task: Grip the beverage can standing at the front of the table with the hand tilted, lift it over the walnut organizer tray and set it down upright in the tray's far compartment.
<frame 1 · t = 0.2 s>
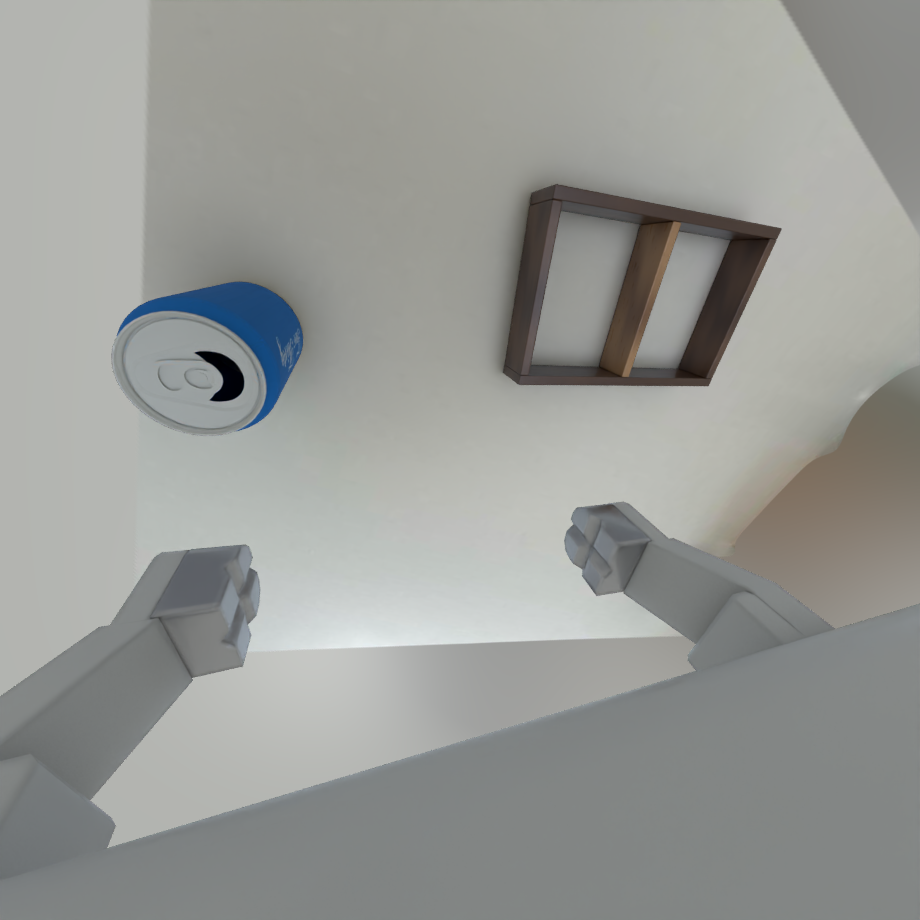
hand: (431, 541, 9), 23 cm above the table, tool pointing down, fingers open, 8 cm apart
beverage can: (256, 330, 25), on the table
tray: (620, 302, 32), on the table
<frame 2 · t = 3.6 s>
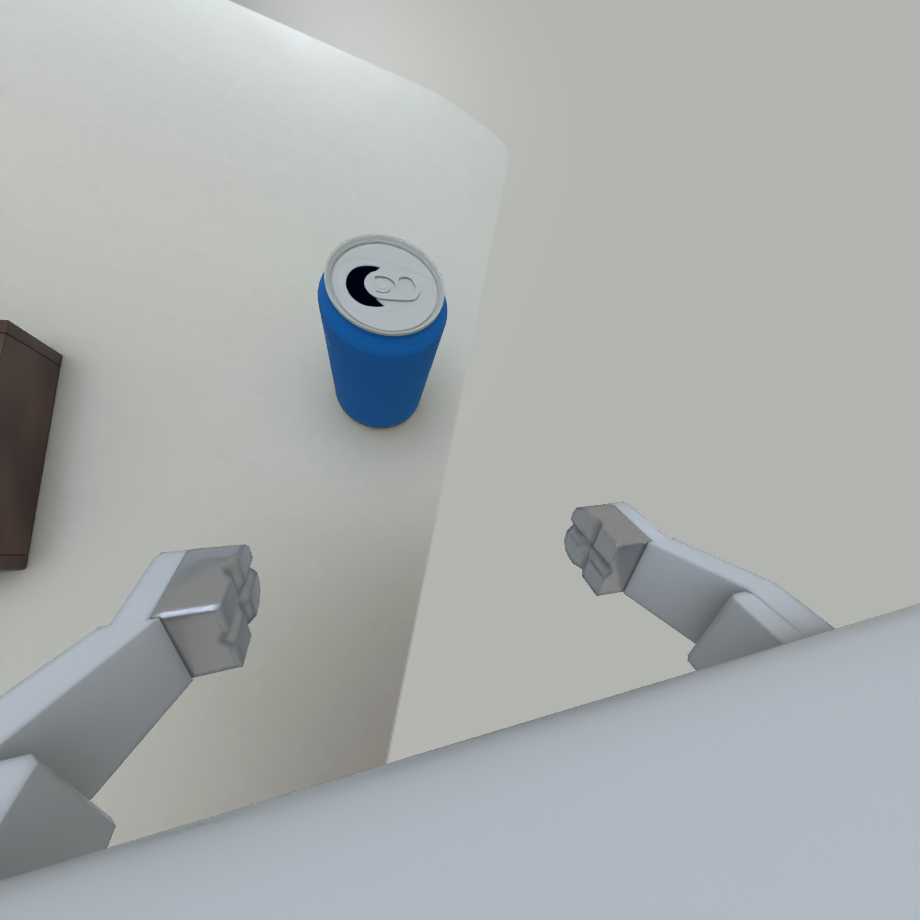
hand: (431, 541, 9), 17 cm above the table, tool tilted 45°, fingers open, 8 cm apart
beverage can: (379, 394, 27), on the table
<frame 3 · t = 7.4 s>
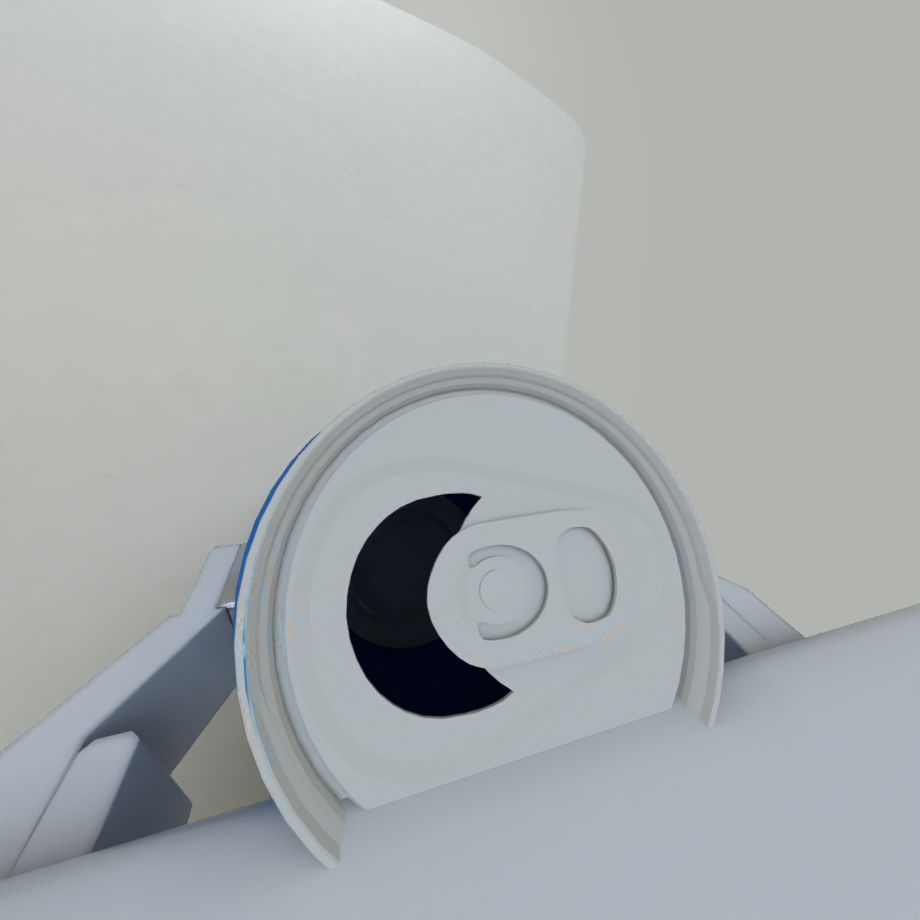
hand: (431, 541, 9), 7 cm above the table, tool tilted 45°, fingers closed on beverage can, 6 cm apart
beverage can: (406, 561, 15), on the table, touching gripper
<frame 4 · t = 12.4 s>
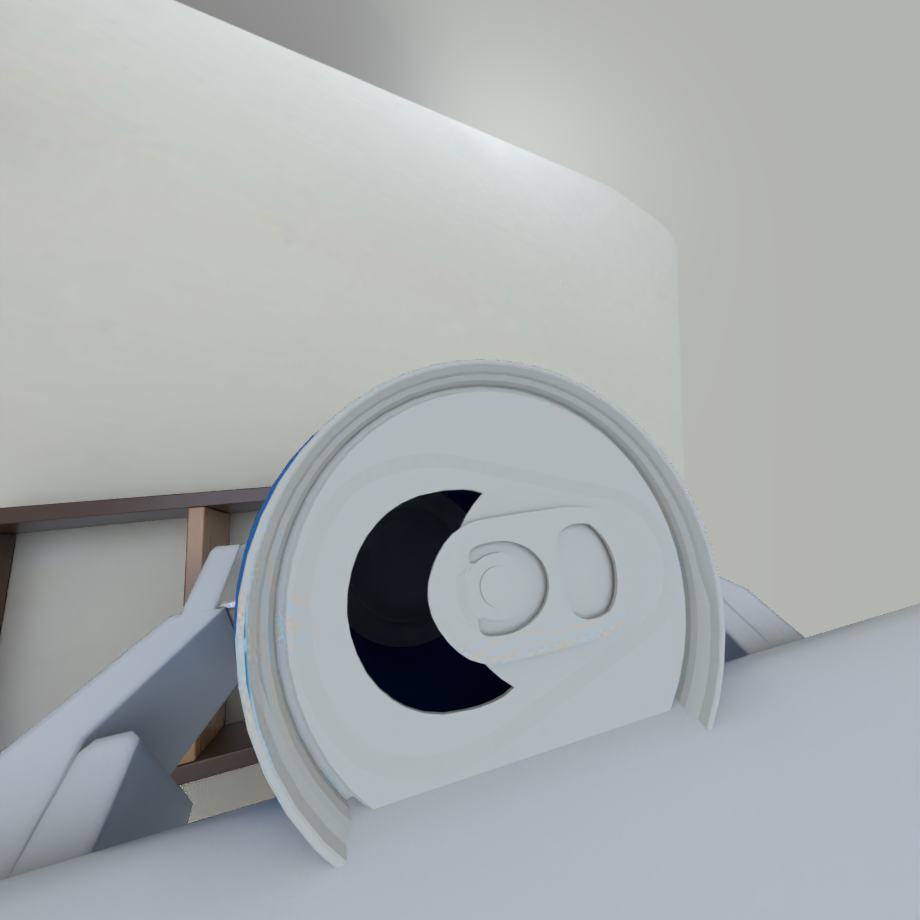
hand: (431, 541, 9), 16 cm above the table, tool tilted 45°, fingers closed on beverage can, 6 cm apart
beverage can: (406, 560, 15), point 9 cm above the table, touching gripper
tray: (220, 613, 20), on the table
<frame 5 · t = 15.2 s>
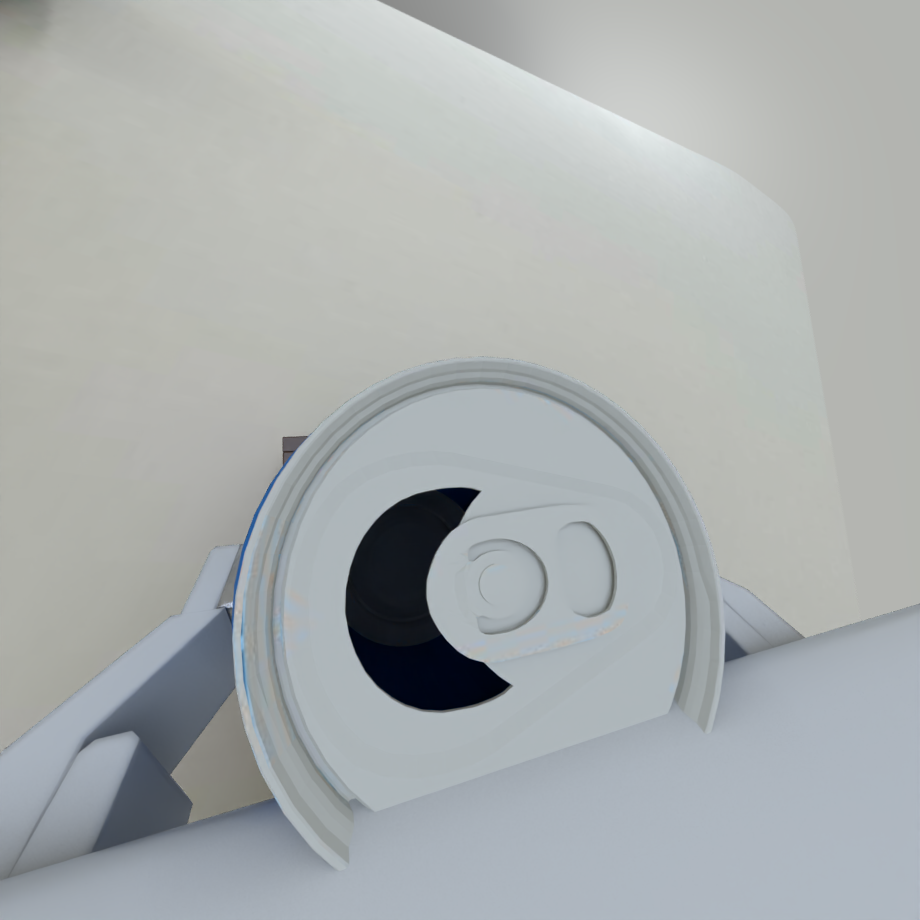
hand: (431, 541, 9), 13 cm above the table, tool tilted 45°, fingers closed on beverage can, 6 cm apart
beverage can: (406, 560, 15), point 6 cm above the table, touching gripper
tray: (477, 546, 22), on the table
when the fingers open (7 cm above the table, at t = 17.5 s): beverage can stays where it is, resting in tray.
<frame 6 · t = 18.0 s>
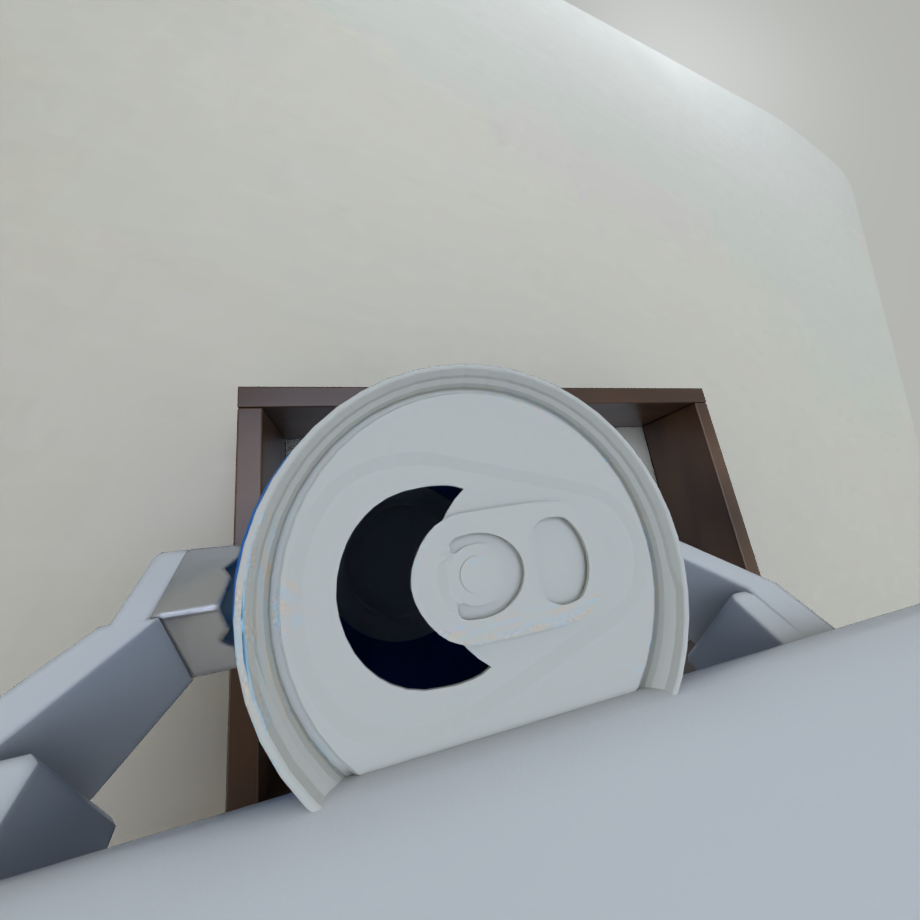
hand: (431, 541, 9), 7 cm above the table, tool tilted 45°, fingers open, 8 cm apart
beverage can: (401, 557, 15), resting in tray
tray: (509, 546, 17), on the table
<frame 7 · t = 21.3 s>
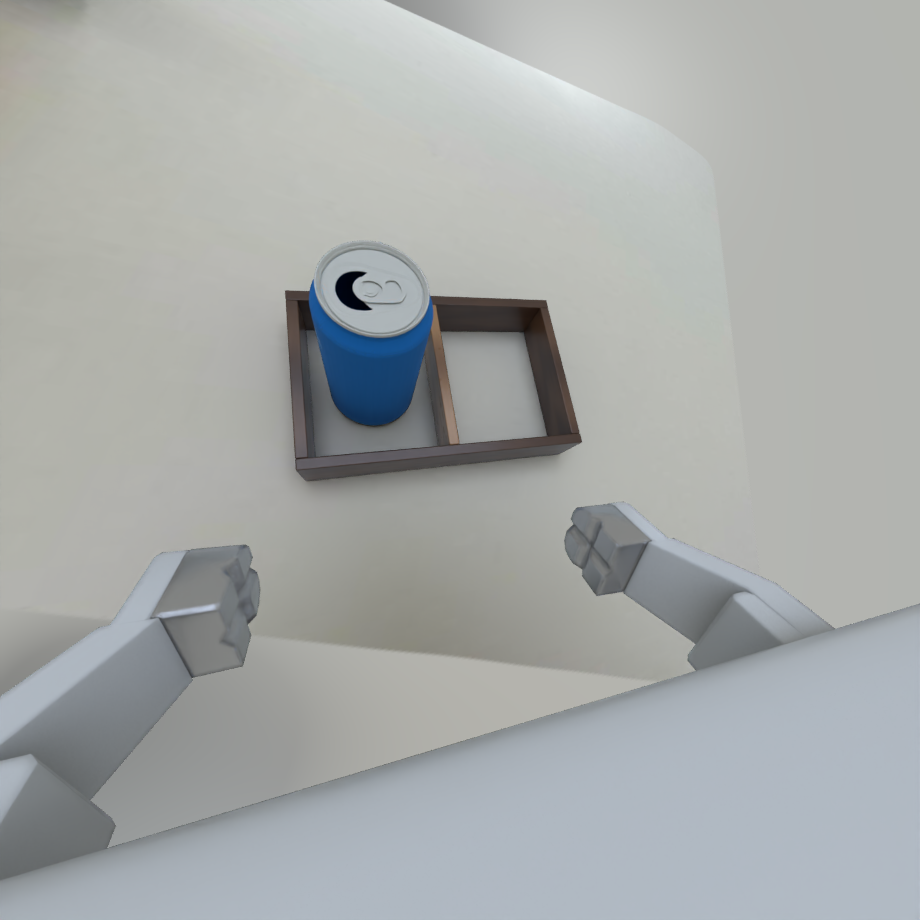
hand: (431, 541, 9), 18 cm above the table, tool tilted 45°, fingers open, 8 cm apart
beverage can: (372, 393, 28), resting in tray
tray: (434, 391, 30), on the table
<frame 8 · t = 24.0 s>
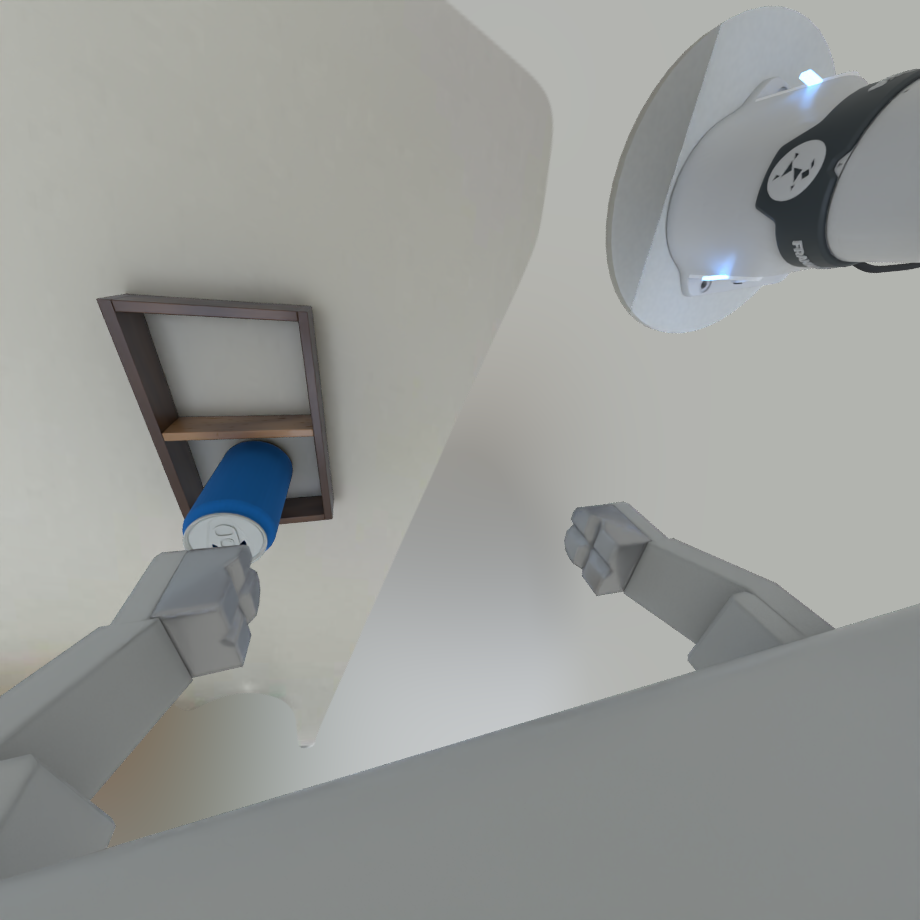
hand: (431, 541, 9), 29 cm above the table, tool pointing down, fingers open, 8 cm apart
beverage can: (260, 463, 36), resting in tray
tray: (251, 419, 34), on the table
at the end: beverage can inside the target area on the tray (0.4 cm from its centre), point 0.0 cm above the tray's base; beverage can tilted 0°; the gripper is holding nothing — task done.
